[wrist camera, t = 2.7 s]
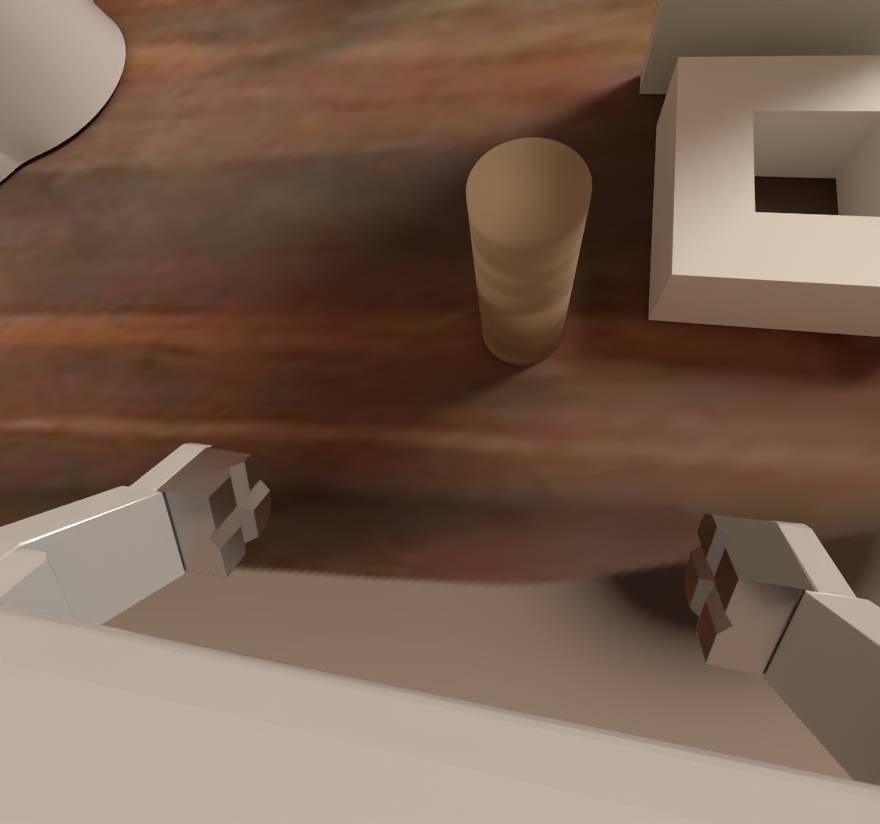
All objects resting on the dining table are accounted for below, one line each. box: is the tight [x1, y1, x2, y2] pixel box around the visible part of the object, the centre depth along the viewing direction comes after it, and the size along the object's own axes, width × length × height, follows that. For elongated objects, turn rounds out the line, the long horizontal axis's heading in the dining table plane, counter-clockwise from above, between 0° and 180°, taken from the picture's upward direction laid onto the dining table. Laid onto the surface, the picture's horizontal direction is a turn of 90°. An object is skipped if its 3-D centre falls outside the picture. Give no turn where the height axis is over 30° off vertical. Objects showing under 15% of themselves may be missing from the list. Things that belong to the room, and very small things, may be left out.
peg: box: [466, 137, 592, 366], centre depth 21 cm, size 4×4×10 cm
